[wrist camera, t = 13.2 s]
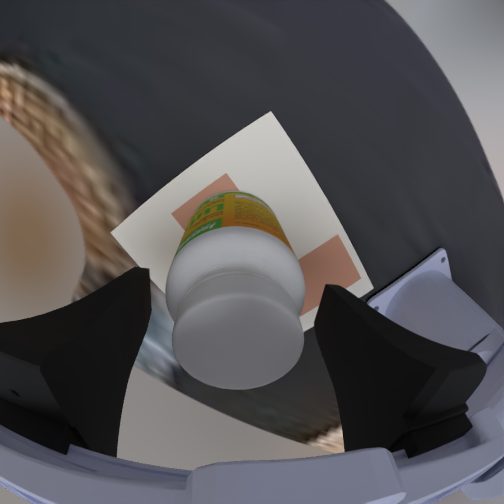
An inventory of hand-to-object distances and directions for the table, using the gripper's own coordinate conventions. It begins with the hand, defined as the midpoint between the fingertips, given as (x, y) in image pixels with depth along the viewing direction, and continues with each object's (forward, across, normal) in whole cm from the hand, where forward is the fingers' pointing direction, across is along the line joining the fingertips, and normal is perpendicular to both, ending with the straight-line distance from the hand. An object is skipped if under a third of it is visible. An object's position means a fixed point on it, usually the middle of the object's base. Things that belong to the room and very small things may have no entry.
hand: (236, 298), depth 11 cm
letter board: (+7, -1, +2) cm, 7 cm away
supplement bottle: (+6, 0, 0) cm, 7 cm away
